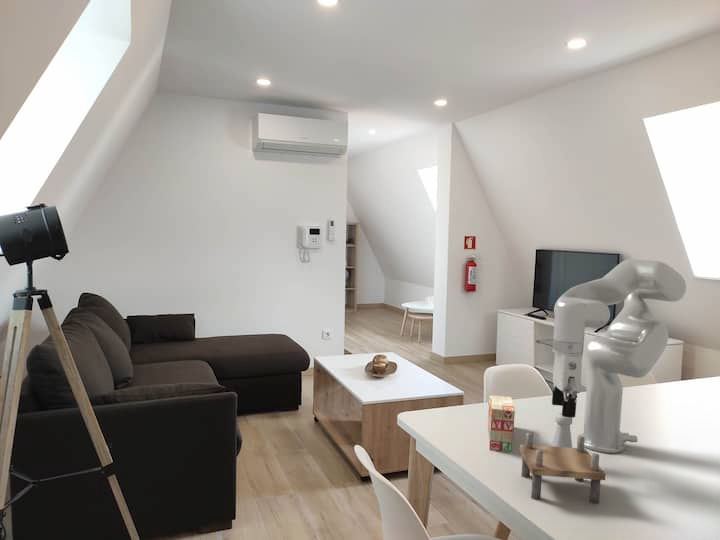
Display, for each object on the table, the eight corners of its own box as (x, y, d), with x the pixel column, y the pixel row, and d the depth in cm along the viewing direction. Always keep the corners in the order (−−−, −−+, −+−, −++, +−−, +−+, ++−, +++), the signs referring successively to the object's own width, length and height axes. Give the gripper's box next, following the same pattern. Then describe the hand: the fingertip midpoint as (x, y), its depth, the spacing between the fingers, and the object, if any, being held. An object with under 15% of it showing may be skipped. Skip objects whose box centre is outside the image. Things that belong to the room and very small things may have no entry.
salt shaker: (546, 456, 146) (548, 410, 145) (566, 456, 146) (569, 410, 145) (555, 466, 140) (558, 418, 139) (576, 466, 141) (579, 418, 140)
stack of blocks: (487, 424, 170) (489, 386, 169) (507, 426, 169) (509, 388, 168) (489, 450, 149) (491, 407, 148) (512, 453, 148) (515, 410, 147)
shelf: (583, 477, 134) (586, 435, 133) (603, 506, 120) (606, 458, 119) (518, 472, 135) (520, 430, 135) (530, 500, 122) (533, 453, 121)
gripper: (593, 355, 132) (588, 423, 133) (572, 342, 149) (568, 402, 150) (562, 353, 133) (557, 420, 134) (545, 340, 150) (540, 400, 151)
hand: (563, 410), depth 142 cm, fingers open, 9 cm apart
